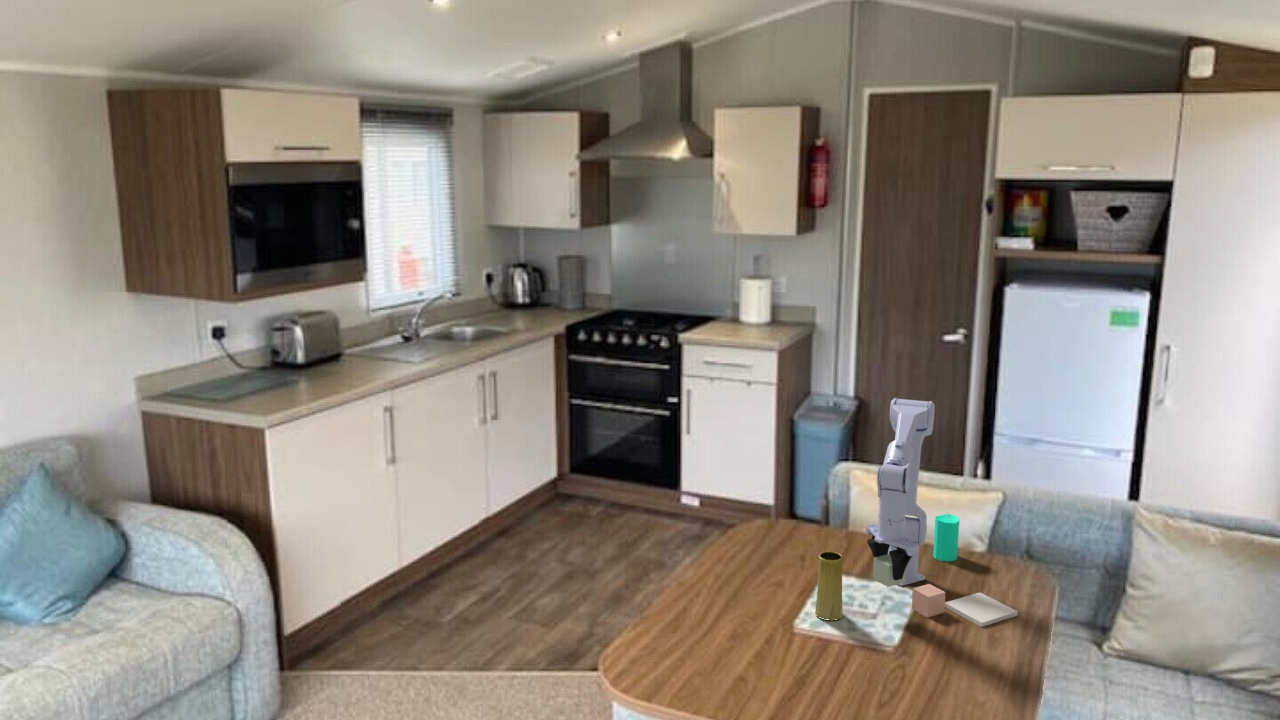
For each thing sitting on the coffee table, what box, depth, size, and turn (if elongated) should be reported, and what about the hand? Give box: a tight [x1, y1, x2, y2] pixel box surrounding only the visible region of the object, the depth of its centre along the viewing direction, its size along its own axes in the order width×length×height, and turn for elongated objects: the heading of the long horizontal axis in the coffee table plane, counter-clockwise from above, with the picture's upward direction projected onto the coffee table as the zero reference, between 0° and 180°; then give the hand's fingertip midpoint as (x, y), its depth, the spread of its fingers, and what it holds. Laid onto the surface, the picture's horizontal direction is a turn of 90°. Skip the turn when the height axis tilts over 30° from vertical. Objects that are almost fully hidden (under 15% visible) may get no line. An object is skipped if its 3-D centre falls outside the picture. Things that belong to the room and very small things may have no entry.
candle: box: [932, 512, 960, 562], centre depth 245 cm, size 6×6×12 cm
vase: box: [814, 550, 844, 620], centre depth 215 cm, size 6×6×14 cm
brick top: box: [911, 583, 946, 618], centre depth 217 cm, size 5×5×5 cm
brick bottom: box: [872, 554, 906, 588], centre depth 215 cm, size 5×5×5 cm
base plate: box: [945, 592, 1018, 628], centre depth 217 cm, size 11×11×1 cm
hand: (889, 574), depth 215 cm, fingers closed on brick bottom, 5 cm apart
